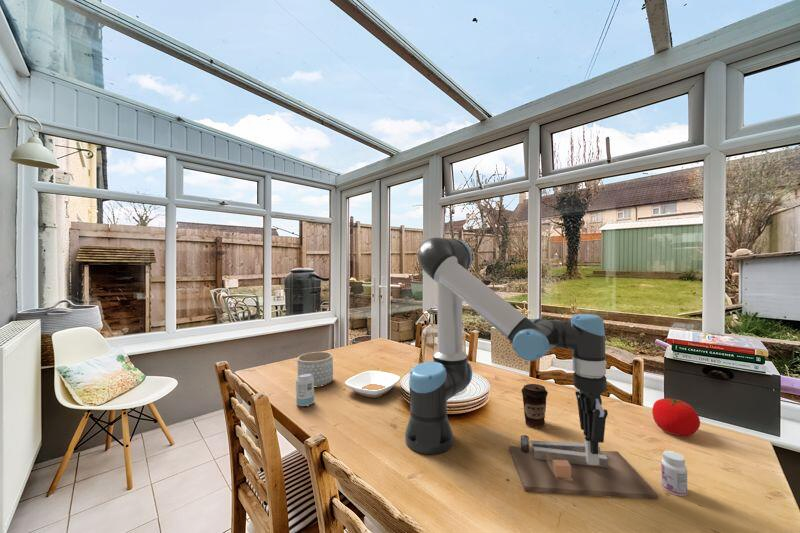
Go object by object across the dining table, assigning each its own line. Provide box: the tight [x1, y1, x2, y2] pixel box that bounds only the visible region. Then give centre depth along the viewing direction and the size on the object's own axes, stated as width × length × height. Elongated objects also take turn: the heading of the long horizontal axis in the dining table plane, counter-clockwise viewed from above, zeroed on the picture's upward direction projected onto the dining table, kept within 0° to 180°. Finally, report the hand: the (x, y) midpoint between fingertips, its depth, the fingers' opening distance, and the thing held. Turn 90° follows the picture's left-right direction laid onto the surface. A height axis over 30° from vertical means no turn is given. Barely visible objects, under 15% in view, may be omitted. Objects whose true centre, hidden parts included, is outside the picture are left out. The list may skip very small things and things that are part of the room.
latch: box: [553, 460, 571, 478], centre depth 81 cm, size 4×2×3 cm, turn 83°
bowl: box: [344, 370, 402, 398], centre depth 140 cm, size 22×22×5 cm
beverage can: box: [295, 373, 315, 407], centre depth 128 cm, size 7×7×12 cm
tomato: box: [651, 397, 701, 437], centre depth 102 cm, size 11×12×10 cm
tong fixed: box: [520, 434, 601, 454], centre depth 90 cm, size 21×2×4 cm, turn 83°
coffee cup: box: [520, 383, 549, 429], centre depth 108 cm, size 9×8×13 cm
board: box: [508, 445, 660, 501], centre depth 83 cm, size 30×17×1 cm, turn 83°
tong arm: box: [533, 447, 608, 468], centre depth 86 cm, size 18×2×2 cm, turn 75°
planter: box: [296, 351, 334, 386], centre depth 151 cm, size 16×16×13 cm
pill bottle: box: [660, 450, 689, 497], centre depth 76 cm, size 5×5×8 cm
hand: (592, 463), depth 83 cm, fingers closed
